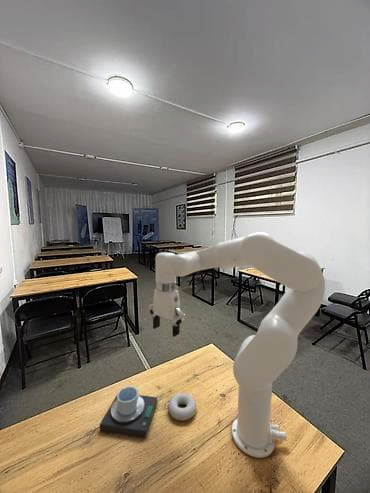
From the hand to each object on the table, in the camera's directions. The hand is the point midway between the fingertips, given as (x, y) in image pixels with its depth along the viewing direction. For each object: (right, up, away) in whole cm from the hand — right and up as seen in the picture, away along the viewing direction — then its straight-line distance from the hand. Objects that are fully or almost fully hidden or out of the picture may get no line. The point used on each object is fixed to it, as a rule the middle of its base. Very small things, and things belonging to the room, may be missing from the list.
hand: (165, 331), depth 78 cm
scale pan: (-12, -23, -7) cm, 27 cm away
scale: (-11, -26, -7) cm, 29 cm away
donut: (+6, -27, -4) cm, 28 cm away
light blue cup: (-12, -23, -7) cm, 27 cm away
